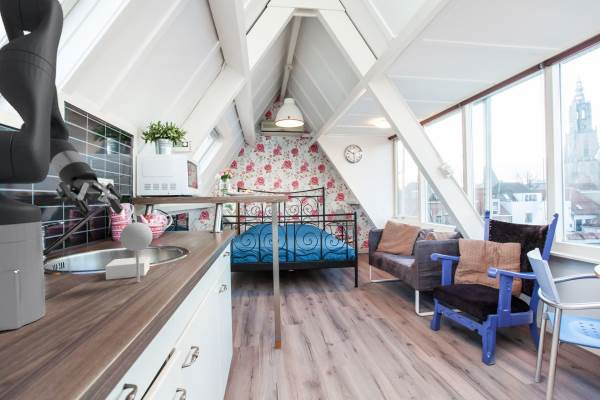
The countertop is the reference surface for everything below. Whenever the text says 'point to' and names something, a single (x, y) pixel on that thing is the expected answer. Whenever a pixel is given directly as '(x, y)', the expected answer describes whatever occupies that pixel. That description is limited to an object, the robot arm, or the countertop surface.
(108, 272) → the white soap bar
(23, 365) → the countertop surface
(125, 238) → the lollipop
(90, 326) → the countertop surface
